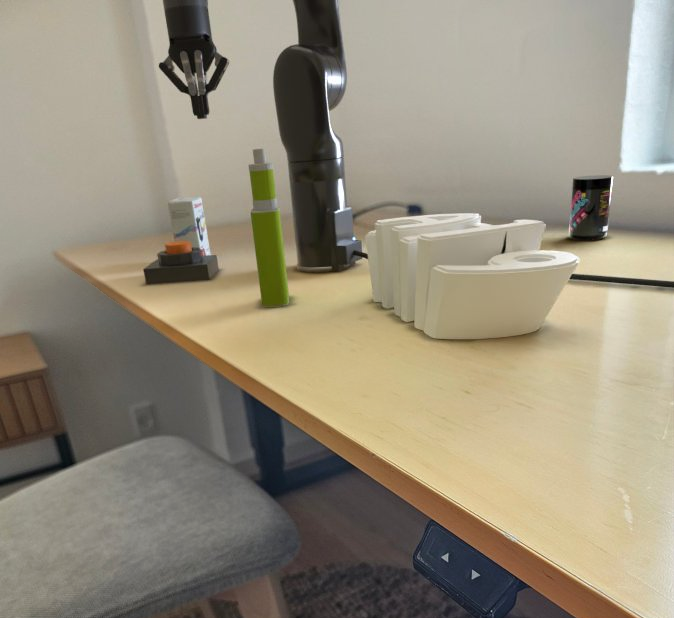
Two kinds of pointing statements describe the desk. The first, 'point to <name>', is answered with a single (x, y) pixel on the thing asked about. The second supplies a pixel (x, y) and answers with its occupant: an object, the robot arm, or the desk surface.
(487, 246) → the white wavy slab sculpture
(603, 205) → the supplement container
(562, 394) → the desk surface
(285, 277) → the vape
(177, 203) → the ink box
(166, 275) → the push button base
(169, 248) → the power button
